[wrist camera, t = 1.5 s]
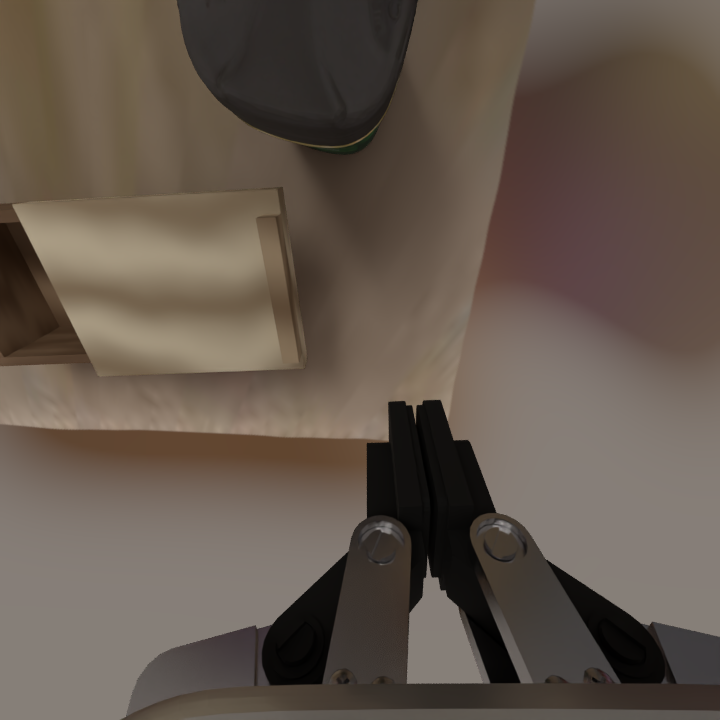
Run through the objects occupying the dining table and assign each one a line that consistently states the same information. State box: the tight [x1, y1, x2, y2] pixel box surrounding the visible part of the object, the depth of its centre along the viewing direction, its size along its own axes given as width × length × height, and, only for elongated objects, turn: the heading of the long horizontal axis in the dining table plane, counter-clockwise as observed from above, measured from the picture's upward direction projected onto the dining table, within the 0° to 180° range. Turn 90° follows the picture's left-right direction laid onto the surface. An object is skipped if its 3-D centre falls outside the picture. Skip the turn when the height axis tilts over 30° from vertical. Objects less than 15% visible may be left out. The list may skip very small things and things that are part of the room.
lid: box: [12, 187, 308, 377], centre depth 25 cm, size 13×17×3 cm
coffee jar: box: [177, 0, 418, 155], centre depth 17 cm, size 10×8×19 cm
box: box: [0, 202, 91, 366], centre depth 30 cm, size 12×16×7 cm
